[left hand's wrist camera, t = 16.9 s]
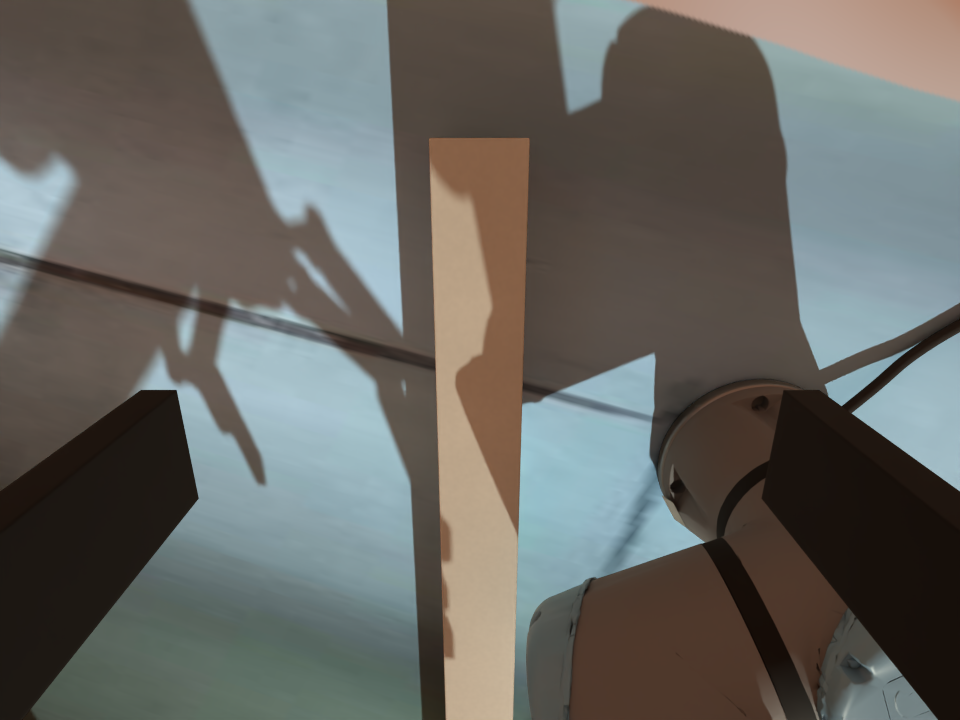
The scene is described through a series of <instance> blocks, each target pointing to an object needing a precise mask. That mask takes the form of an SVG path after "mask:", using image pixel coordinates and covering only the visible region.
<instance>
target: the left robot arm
mask: <svg viewBox="0 0 960 720" xmlns="http://www.w3.org/2000/svg"><path fill="white" fill-rule="evenodd" d="M959 332H960V319H959V320H957V321H955V322H954V323H952V324H950V325H948V326H946V327H945V328H943V329H941V330H940V331H938V332H936V333H935V334H933V335H931V336H930V337H928V338H927V339H925V340H924V341H922V342H920V343H919V344H918V345H916V346H915V347H913V348H912V349H910V350H909V351H908V352H906V353H905V354H904V355H902V356H901V357H900V358H899V359H897V360H896V361H895V362H894V363H893V364H892V365H890V366H889V367H888V368H887V369H886V370H885V371H884V372H883V373H881V374H880V375H879V376H878V377H877V378H876V379H875V380H873V381H872V382H871V383H870V384H869V385H867V386H866V387H865V388H864V389H863V390H861V391H860V392H859V393H858V394H856V395H855V396H854V397H853V398H851V399H850V400H849V401H848V402H847V403H845V404H844V405H843V406H840V405H839V404H838V403H836V402H835V401H833V400H832V399H831V398H829V397H828V396H826V395H825V394H824V393H822V392H821V391H820V390H803V389H801V388H800V387H797V386H795V385H792V384H790V383H786V382H783V381H777V380H769V379H754V380H745V381H740V382H735V383H732V384H728V385H725V386H723V387H720V388H718V389H715V390H713V391H711V392H709V393H708V394H706V395H704V396H702V397H701V398H699V399H698V400H697V401H695V402H694V403H693V404H691V405H690V406H689V407H688V408H687V409H686V410H685V411H684V412H683V413H682V414H681V415H680V416H679V417H678V418H677V419H676V420H675V422H674V423H673V425H672V426H671V427H670V429H669V431H668V433H667V434H666V436H665V438H664V441H663V443H662V446H661V449H660V453H659V457H658V480H659V484H660V488H661V491H662V493H663V495H664V496H662V497H663V499H664V500H665V502H666V504H667V506H668V508H669V510H670V512H671V514H672V515H673V517H674V519H675V520H676V521H678V522H679V523H681V524H682V525H683V526H685V527H686V528H687V529H688V530H690V531H691V532H692V533H693V534H695V535H696V536H697V537H699V538H700V539H702V540H703V541H704V542H706V543H703V544H698V545H695V546H693V547H690V548H687V549H684V550H681V551H678V552H675V553H672V554H669V555H666V556H663V557H660V558H657V559H654V560H651V561H649V562H646V563H643V564H640V565H637V566H634V567H631V568H628V569H625V570H622V571H619V572H616V573H613V574H610V575H607V576H604V577H601V578H598V579H597V578H596V577H593V578H589V579H587V580H585V581H584V582H583V584H581V585H579V586H576V587H574V588H571V589H569V590H567V591H564V592H562V593H559V594H557V595H554V596H552V597H549V598H548V599H546V600H545V601H543V602H542V603H541V604H540V605H539V606H538V608H537V609H536V611H535V612H534V614H533V617H532V619H531V622H530V627H529V632H528V636H527V647H526V671H527V687H528V697H529V705H530V712H531V718H532V720H960V491H958V490H957V489H956V488H954V487H953V486H951V485H950V484H949V483H947V482H946V481H944V480H943V479H942V478H940V477H939V476H938V475H936V474H935V473H933V472H932V471H931V470H929V469H928V468H926V467H925V466H924V465H922V464H921V463H919V462H918V461H917V460H915V459H914V458H913V457H911V456H910V455H908V454H907V453H906V452H904V451H903V450H901V449H900V448H899V447H897V446H896V445H894V444H893V443H892V442H890V441H889V440H888V439H886V438H885V437H883V436H882V435H881V434H879V433H878V432H876V431H875V430H874V429H872V428H871V427H870V426H868V425H867V424H865V423H864V422H863V421H861V420H860V419H858V418H857V417H856V416H854V415H853V414H851V413H852V412H854V411H855V410H856V409H857V408H859V407H860V406H861V405H862V404H863V403H865V402H866V401H867V400H868V399H870V398H871V397H872V396H873V395H875V394H876V393H877V392H878V391H879V390H881V389H882V388H883V387H884V386H885V385H886V384H888V383H889V382H890V381H891V380H892V379H893V378H894V377H895V376H897V375H898V374H899V373H900V372H901V371H902V370H903V369H905V368H906V367H907V366H908V365H910V364H911V363H912V362H913V361H915V360H916V359H917V358H919V357H920V356H922V355H923V354H925V353H926V352H928V351H929V350H931V349H932V348H934V347H935V346H937V345H939V344H940V343H942V342H944V341H945V340H947V339H949V338H950V337H952V336H954V335H956V334H957V333H959ZM198 499H199V498H198V493H197V488H196V483H195V478H194V473H193V468H192V464H191V459H190V454H189V449H188V444H187V439H186V434H185V429H184V424H183V419H182V415H181V410H180V405H179V400H178V395H177V390H140V391H139V392H138V393H136V394H135V395H134V396H132V397H131V398H129V399H128V400H127V401H125V402H124V403H122V404H121V405H120V406H118V407H117V408H115V409H114V410H113V411H111V412H110V413H109V414H107V415H106V416H104V417H103V418H102V419H100V420H99V421H97V422H96V423H95V424H93V425H92V426H90V427H89V428H88V429H86V430H85V431H84V432H82V433H81V434H79V435H78V436H77V437H75V438H74V439H72V440H71V441H70V442H68V443H67V444H65V445H64V446H63V447H61V448H60V449H59V450H57V451H56V452H54V453H53V454H52V455H50V456H49V457H47V458H46V459H45V460H43V461H42V462H41V463H39V464H38V465H36V466H35V467H34V468H32V469H31V470H29V471H28V472H27V473H25V474H24V475H22V476H21V477H20V478H18V479H17V480H16V481H14V482H13V483H11V484H10V485H9V486H7V487H6V488H4V489H3V490H2V491H0V720H22V719H23V718H24V717H25V715H26V714H27V713H28V712H29V710H30V709H31V708H32V707H33V705H34V704H35V703H36V702H37V700H38V699H39V698H40V697H41V695H42V694H43V693H44V692H45V690H46V689H47V688H48V687H49V685H50V684H51V683H52V682H53V680H54V679H55V678H56V677H57V675H58V674H59V673H60V672H61V670H62V669H63V668H64V667H65V665H66V664H67V663H68V662H69V660H70V659H71V658H72V657H73V655H74V654H75V653H76V652H77V650H78V649H79V648H80V647H81V645H82V644H83V643H84V642H85V640H86V639H87V638H88V637H89V635H90V634H91V633H92V632H93V630H94V629H95V628H96V627H97V625H98V624H99V623H100V621H101V620H102V619H103V618H104V616H105V615H106V614H107V613H108V611H109V610H110V609H111V608H112V606H113V605H114V604H115V603H116V601H117V600H118V599H119V598H120V596H121V595H122V594H123V593H124V591H125V590H126V589H127V588H128V586H129V585H130V584H131V583H132V581H133V580H134V579H135V578H136V576H137V575H138V574H139V573H140V571H141V570H142V569H143V568H144V566H145V565H146V564H147V563H148V561H149V560H150V559H151V558H152V556H153V555H154V554H155V553H156V551H157V550H158V549H159V548H160V546H161V545H162V544H163V543H164V541H165V540H166V539H167V538H168V536H169V535H170V534H171V533H172V531H173V530H174V529H175V528H176V526H177V525H178V524H179V522H180V521H181V520H182V519H183V517H184V516H185V515H186V514H187V512H188V511H189V510H190V509H191V507H192V506H193V505H194V504H195V502H196V501H197V500H198Z"/></svg>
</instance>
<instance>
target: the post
mask: <svg viewBox="0 0 960 720" xmlns="http://www.w3.org/2000/svg"><path fill="white" fill-rule="evenodd" d="M529 145H530V139H529V138H429V159H430V193H431V227H432V262H433V296H434V331H435V365H436V400H437V434H438V469H439V503H440V538H441V572H442V607H443V641H444V676H445V710H446V720H513V699H514V664H515V630H516V595H517V561H518V526H519V491H520V457H521V422H522V387H523V353H524V318H525V284H526V249H527V214H528V180H529Z"/></svg>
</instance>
